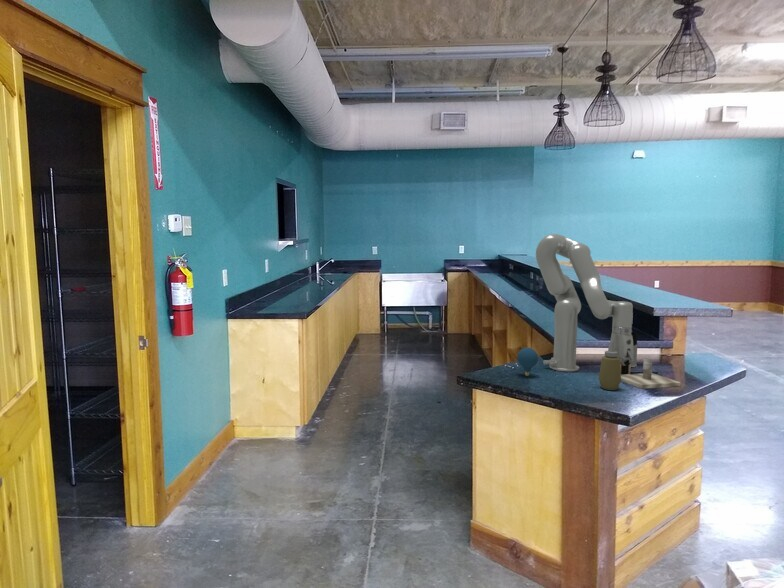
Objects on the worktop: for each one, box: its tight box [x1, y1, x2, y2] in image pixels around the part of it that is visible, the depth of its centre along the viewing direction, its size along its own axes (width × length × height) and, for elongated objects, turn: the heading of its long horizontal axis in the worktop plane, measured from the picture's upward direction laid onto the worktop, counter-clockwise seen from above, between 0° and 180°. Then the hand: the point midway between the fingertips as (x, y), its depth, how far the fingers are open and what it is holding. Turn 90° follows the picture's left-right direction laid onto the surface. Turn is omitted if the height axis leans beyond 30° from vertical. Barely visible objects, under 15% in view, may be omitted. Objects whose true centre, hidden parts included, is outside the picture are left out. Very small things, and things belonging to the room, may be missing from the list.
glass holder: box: [619, 331, 638, 367], centre depth 248 cm, size 9×14×15 cm, turn 144°
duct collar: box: [620, 362, 632, 374], centre depth 232 cm, size 6×6×5 cm
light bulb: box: [517, 347, 539, 377], centre depth 228 cm, size 8×8×12 cm
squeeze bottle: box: [598, 342, 622, 391], centre depth 210 cm, size 8×8×18 cm
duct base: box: [621, 357, 682, 390], centre depth 220 cm, size 18×16×10 cm
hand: (619, 372), depth 232 cm, fingers closed on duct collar, 6 cm apart
